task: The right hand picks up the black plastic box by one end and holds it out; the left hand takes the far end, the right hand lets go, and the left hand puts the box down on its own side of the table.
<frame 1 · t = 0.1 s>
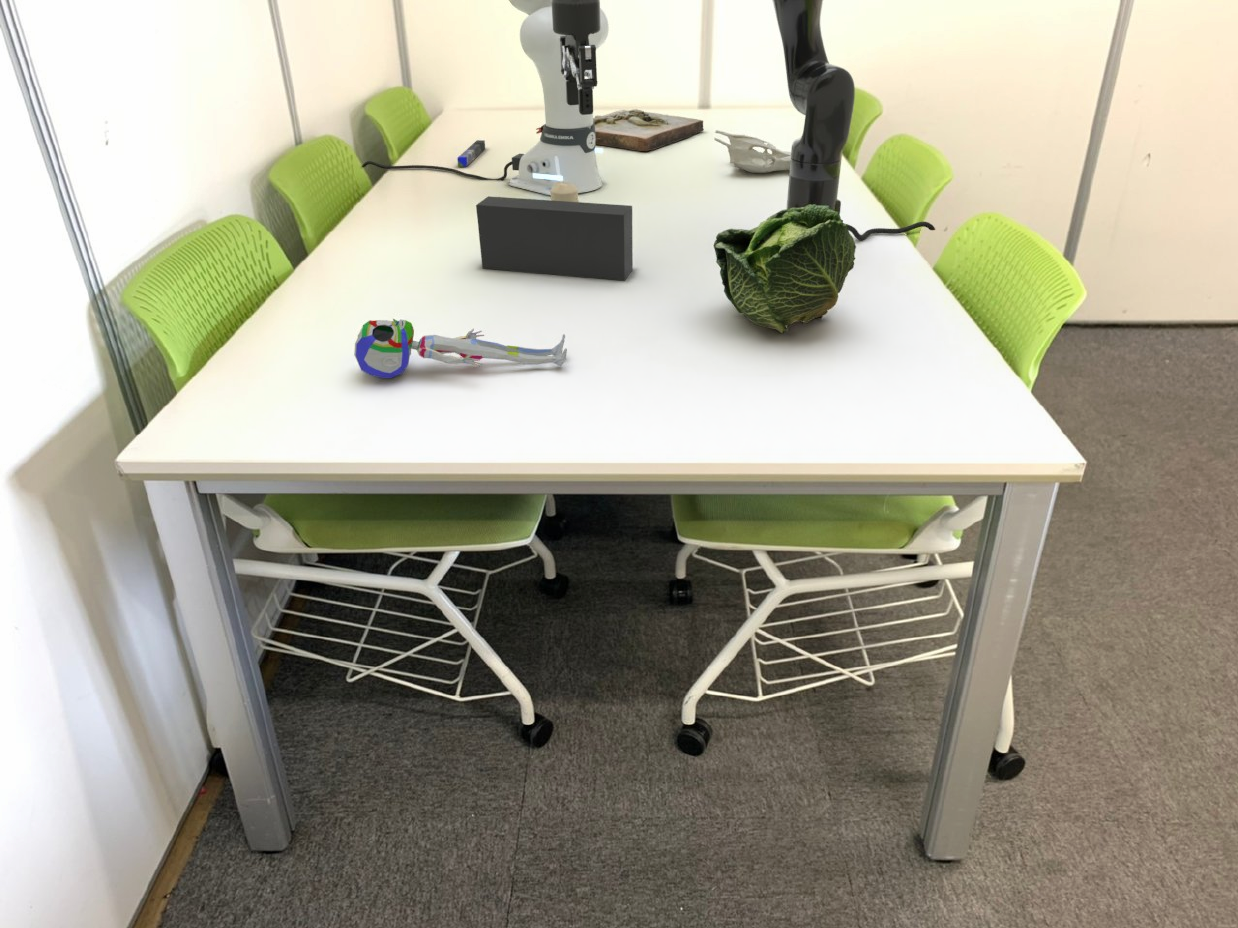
right hand: (579, 109, 148), 29 cm above the table, tool pointing down, fingers open, 8 cm apart
candle: (566, 232, 185), on the table
pillar: (472, 158, 240), on the table
toy: (464, 369, 132), on the table
anatomical model: (763, 171, 224), on the table
plaque: (633, 136, 259), on the table
vegetable: (780, 321, 145), on the table
box: (557, 269, 167), on the table
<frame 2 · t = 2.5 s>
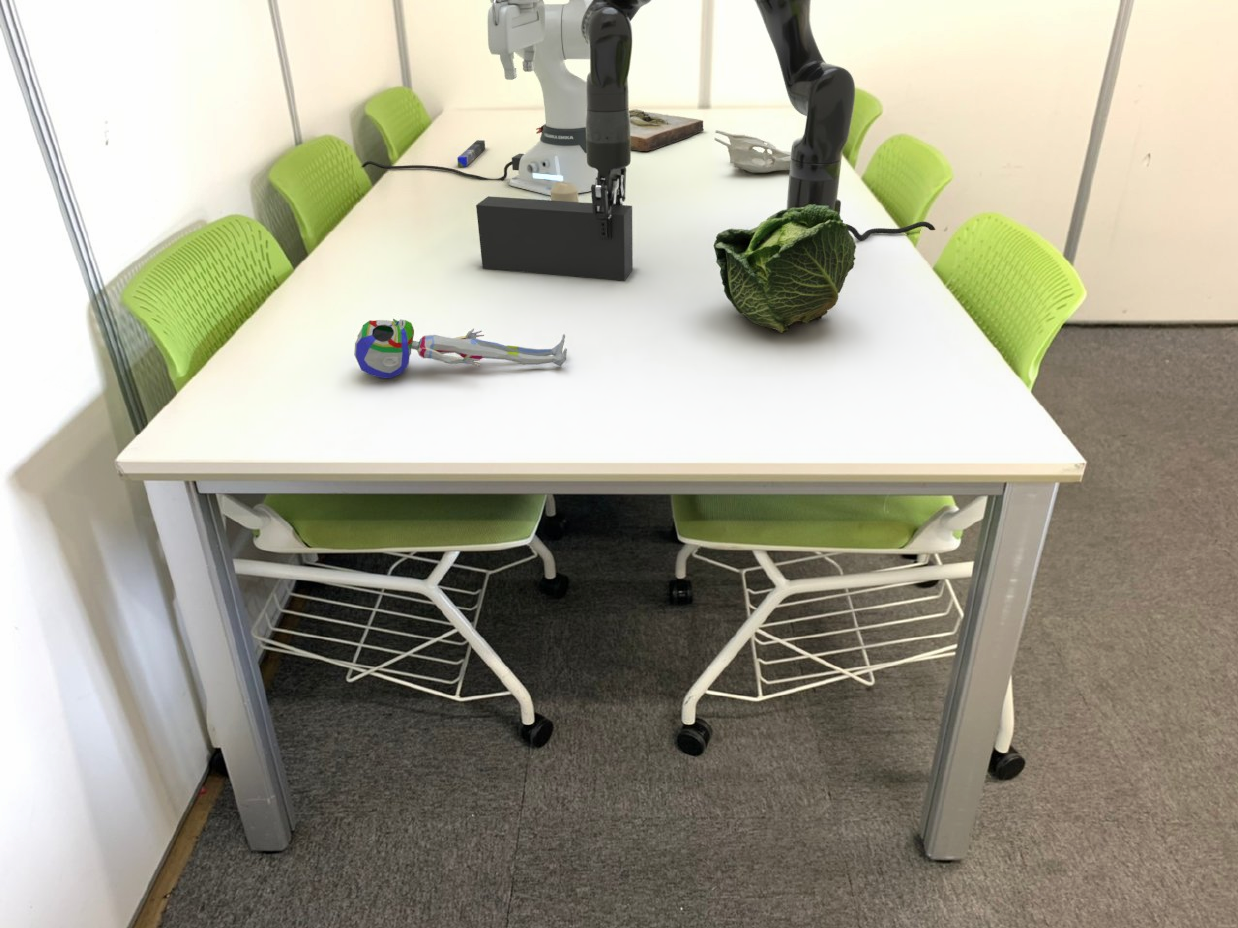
left hand: (520, 75, 167), 31 cm above the table, tool pointing down, fingers open, 8 cm apart
right hand: (610, 233, 160), 7 cm above the table, tool pointing down, fingers closed on box, 5 cm apart
box: (557, 269, 167), on the table, touching right hand
everything else where it was.
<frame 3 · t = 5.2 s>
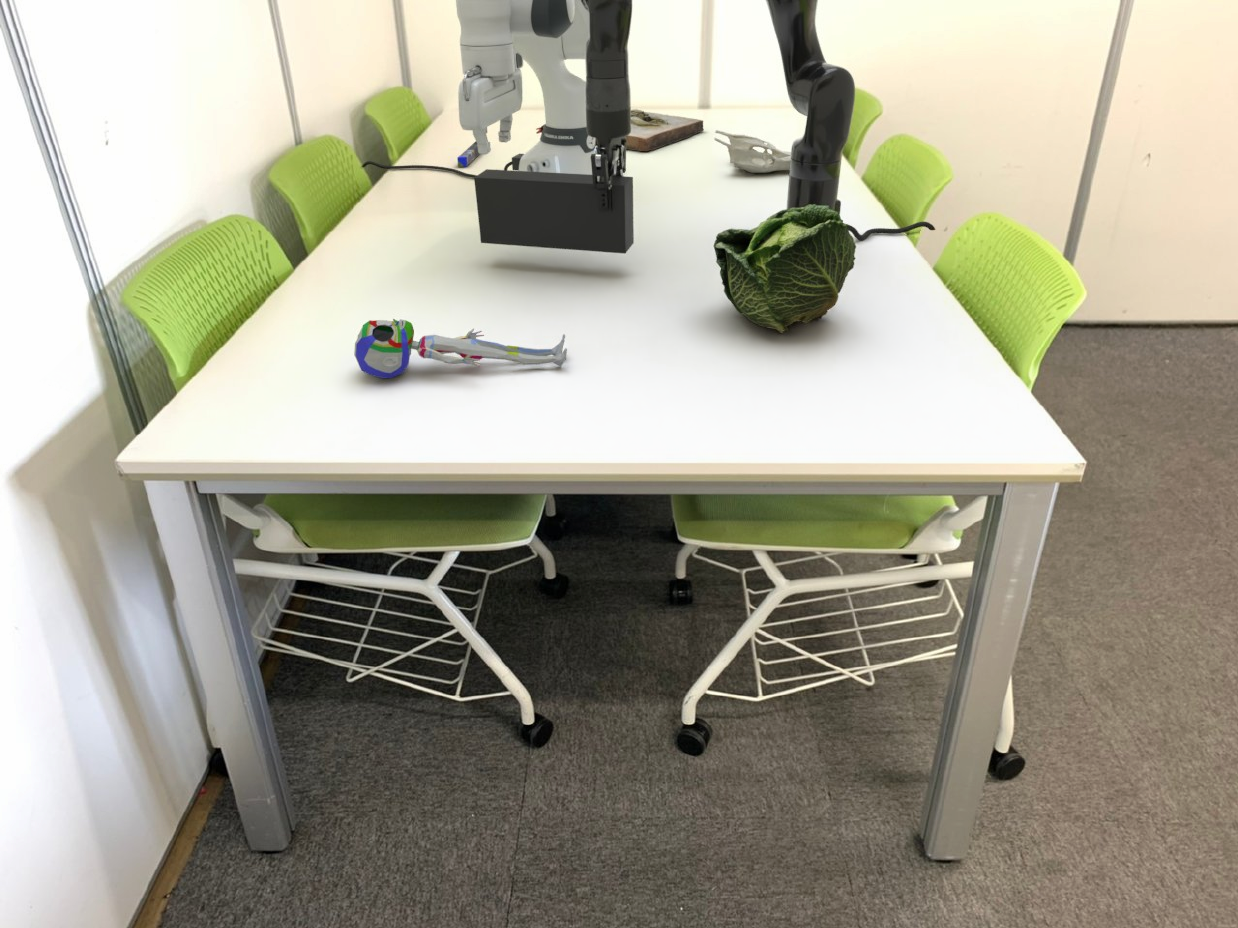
left hand: (495, 147, 158), 21 cm above the table, tool pointing down, fingers open, 8 cm apart
right hand: (610, 205, 158), 12 cm above the table, tool pointing down, fingers closed on box, 5 cm apart
box: (556, 243, 164), point 5 cm above the table, touching right hand
everything else where it was.
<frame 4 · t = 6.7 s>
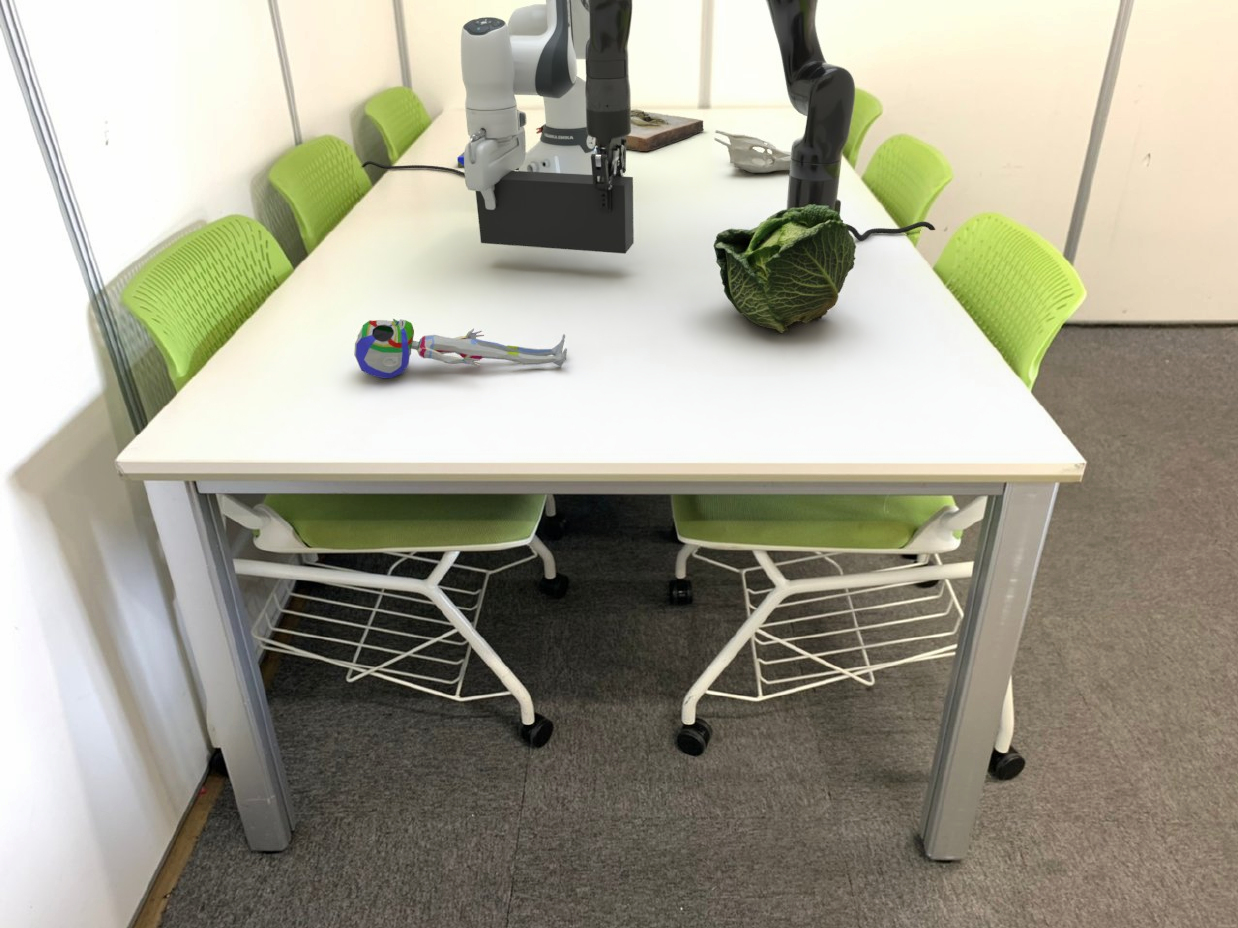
left hand: (499, 203, 163), 12 cm above the table, tool pointing down, fingers closed on box, 6 cm apart
right hand: (610, 206, 158), 12 cm above the table, tool pointing down, fingers closed on box, 5 cm apart
box: (556, 243, 164), point 5 cm above the table, touching left hand, right hand
everything else where it was.
when the right hand's fingers open (13 cm above the table, at t = 8.0 s): box stays where it is, held by the left hand.
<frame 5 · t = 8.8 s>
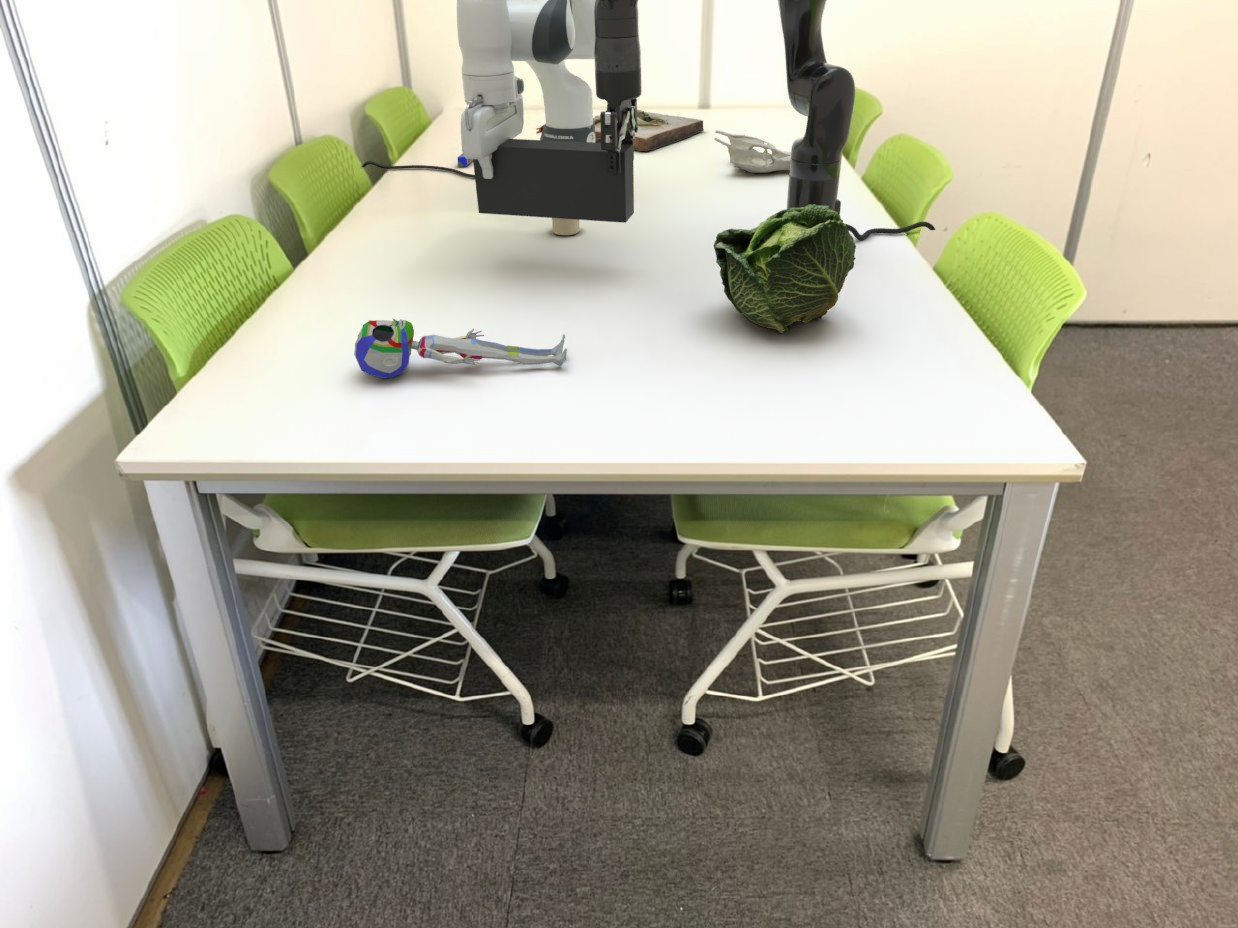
left hand: (497, 172, 160), 17 cm above the table, tool pointing down, fingers closed on box, 6 cm apart
right hand: (620, 168, 154), 19 cm above the table, tool pointing down, fingers open, 8 cm apart
box: (555, 213, 162), point 10 cm above the table, touching left hand
everything else where it was.
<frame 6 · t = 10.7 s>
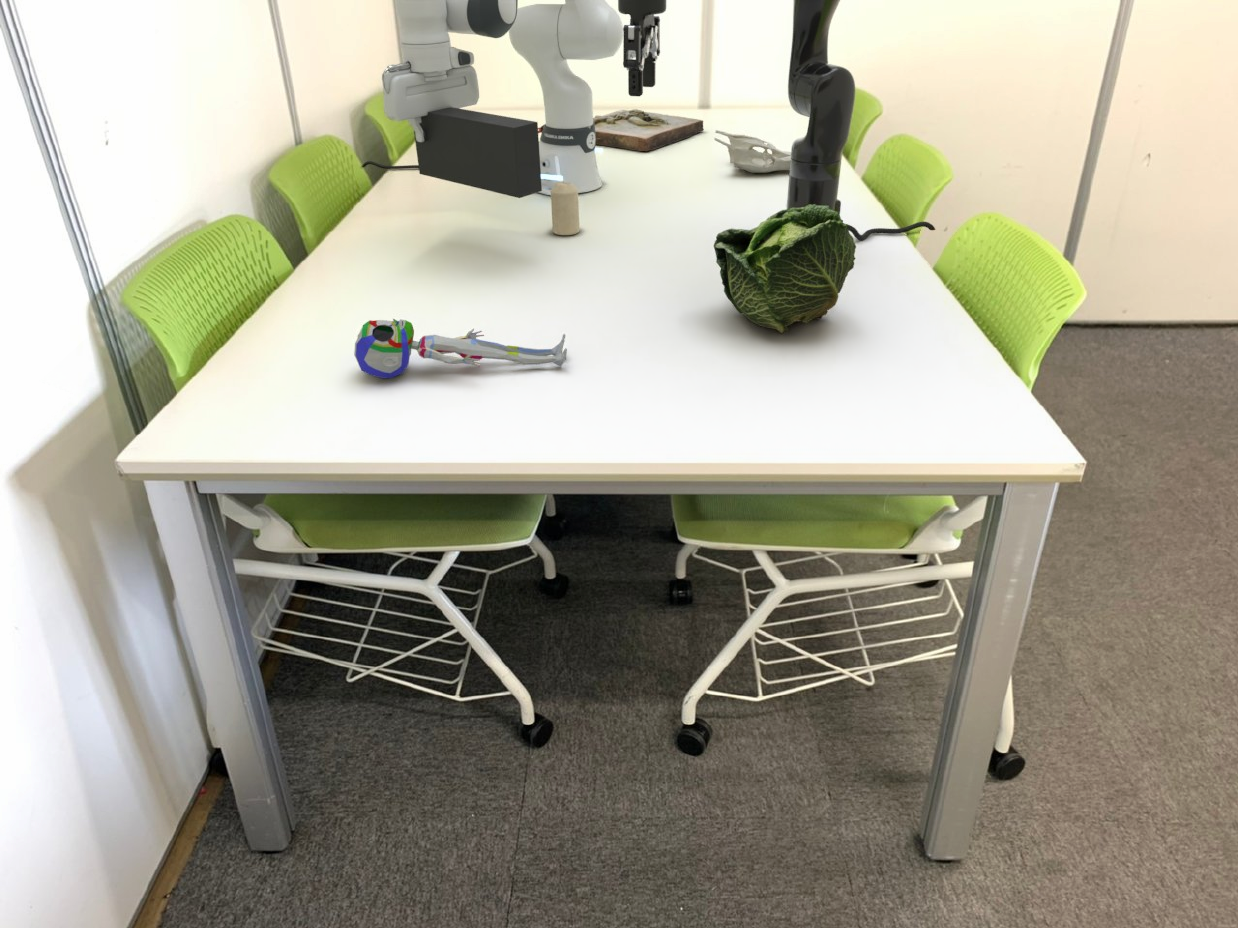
left hand: (437, 137, 170), 20 cm above the table, tool pointing down, fingers closed on box, 6 cm apart
right hand: (642, 91, 146), 32 cm above the table, tool pointing down, fingers open, 8 cm apart
box: (478, 182, 168), point 14 cm above the table, touching left hand
everything else where it was.
when the left hand's fingers open (8 cm above the table, at t = 12.6 s): box stays where it is, on the table.
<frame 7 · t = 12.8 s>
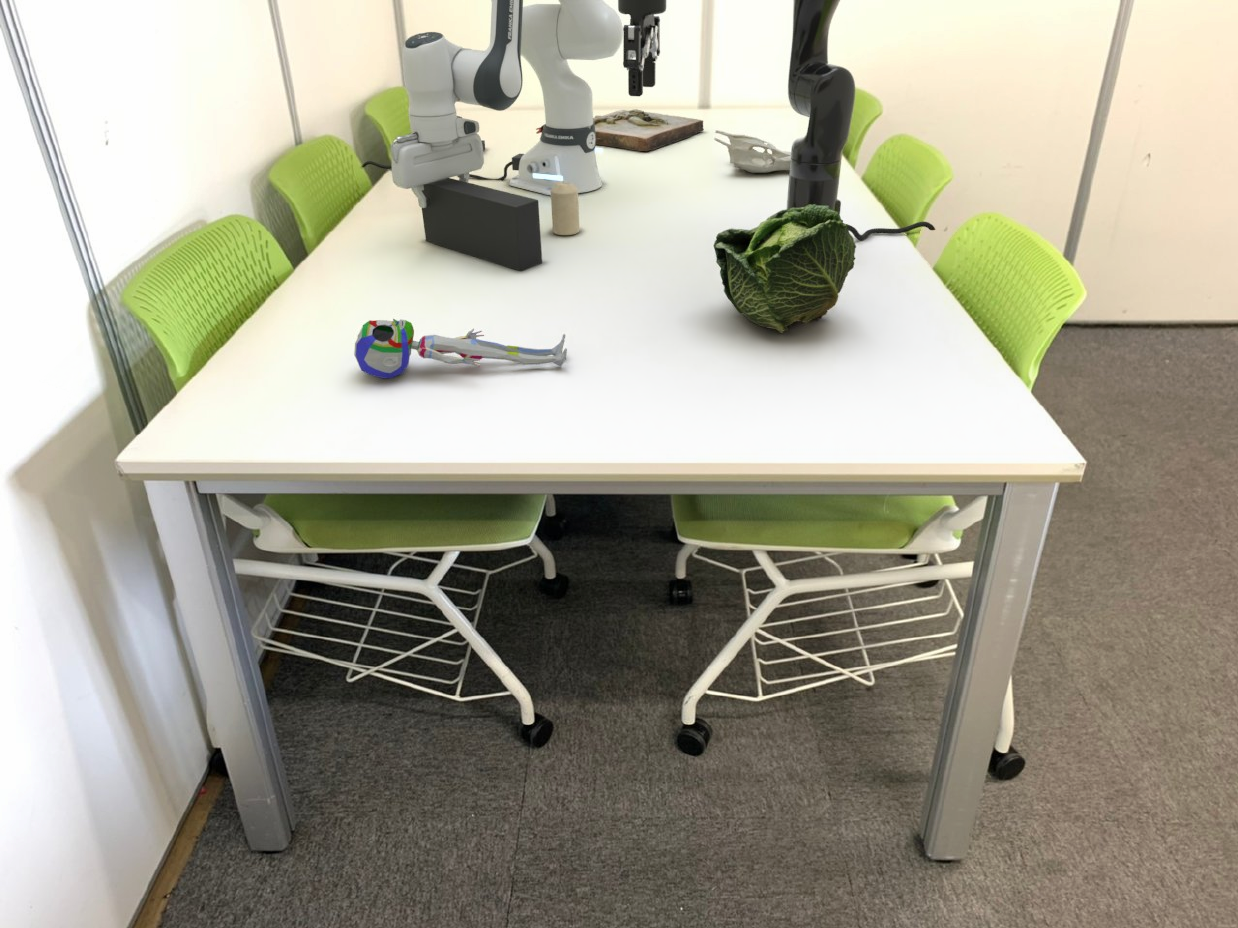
left hand: (443, 201, 177), 8 cm above the table, tool pointing down, fingers open, 8 cm apart
right hand: (642, 91, 146), 32 cm above the table, tool pointing down, fingers open, 8 cm apart
box: (482, 251, 176), on the table
everything else where it was.
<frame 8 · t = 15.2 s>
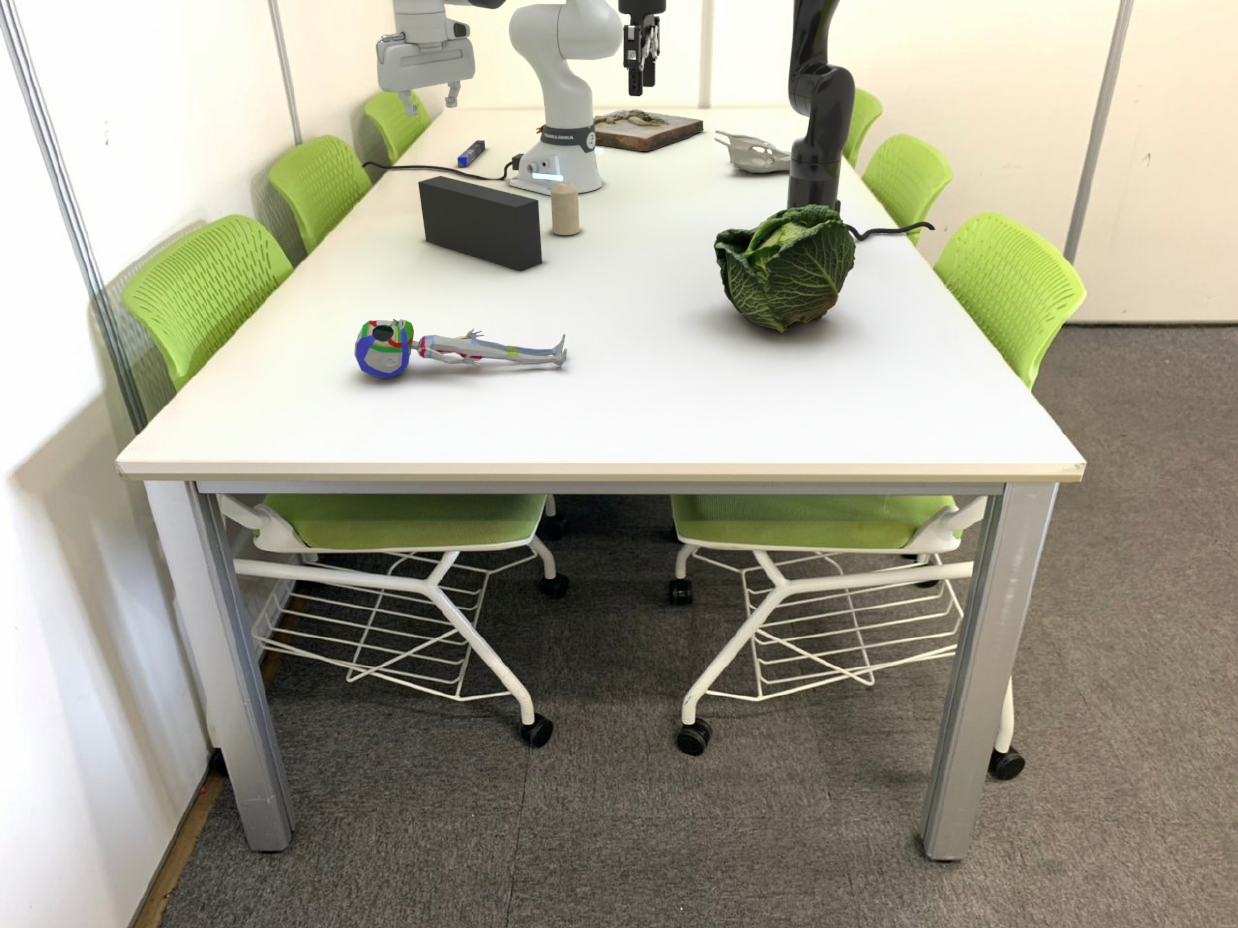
left hand: (432, 111, 168), 25 cm above the table, tool pointing down, fingers open, 8 cm apart
right hand: (642, 91, 146), 32 cm above the table, tool pointing down, fingers open, 8 cm apart
nothing on the table moved.
at the end: box inside the target area (10.1 cm from its centre), on the table; the left hand is holding nothing; the right hand is holding nothing; box at rest at the end (0.0 cm/s) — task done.
